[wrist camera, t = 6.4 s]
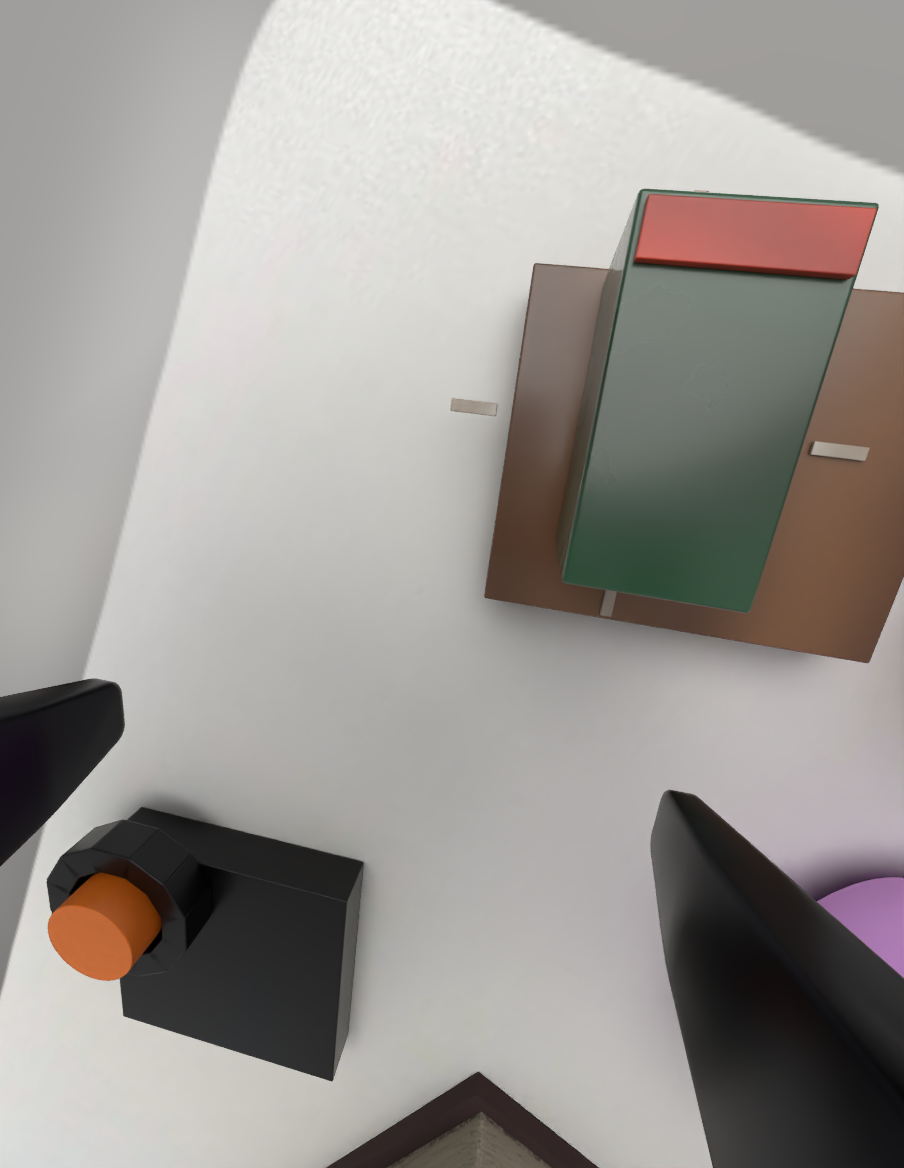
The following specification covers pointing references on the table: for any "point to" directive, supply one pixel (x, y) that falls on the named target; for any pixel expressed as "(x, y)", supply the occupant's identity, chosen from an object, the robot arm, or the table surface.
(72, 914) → the button
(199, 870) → the button block
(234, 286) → the table surface
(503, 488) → the flat brown box
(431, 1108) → the book
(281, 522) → the table surface
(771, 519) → the green box
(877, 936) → the teapot
